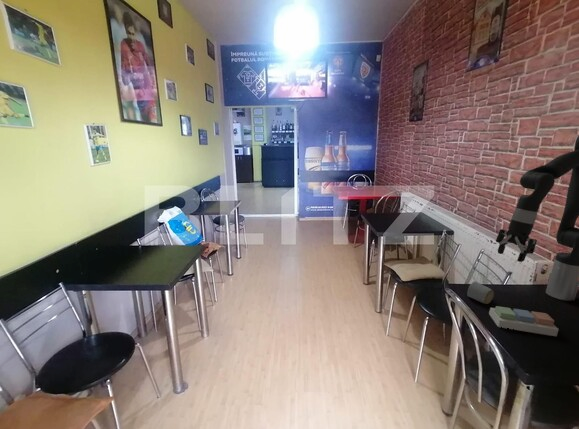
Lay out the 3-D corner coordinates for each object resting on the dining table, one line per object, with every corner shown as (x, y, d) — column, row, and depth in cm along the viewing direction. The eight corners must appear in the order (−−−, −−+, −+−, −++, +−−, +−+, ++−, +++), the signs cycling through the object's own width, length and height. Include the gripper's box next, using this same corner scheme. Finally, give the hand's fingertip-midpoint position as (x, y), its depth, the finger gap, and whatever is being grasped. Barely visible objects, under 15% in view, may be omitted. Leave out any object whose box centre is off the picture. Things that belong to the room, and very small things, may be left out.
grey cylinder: (485, 307, 124) (488, 291, 123) (465, 298, 131) (468, 283, 129) (496, 300, 130) (499, 285, 128) (476, 292, 137) (480, 278, 135)
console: (542, 322, 115) (544, 315, 114) (556, 336, 107) (558, 329, 106) (489, 313, 120) (490, 307, 119) (498, 327, 111) (499, 320, 110)
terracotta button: (544, 319, 113) (546, 313, 112) (552, 327, 108) (554, 320, 107) (529, 317, 114) (531, 311, 113) (536, 324, 109) (538, 318, 109)
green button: (508, 314, 116) (509, 308, 115) (514, 321, 111) (516, 315, 110) (494, 312, 117) (495, 306, 116) (499, 319, 112) (501, 312, 112)
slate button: (526, 316, 114) (528, 310, 114) (533, 324, 110) (534, 318, 109) (511, 314, 115) (513, 308, 115) (517, 322, 111) (519, 315, 110)
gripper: (548, 226, 112) (533, 265, 116) (512, 217, 125) (500, 251, 129) (534, 224, 110) (519, 264, 114) (499, 215, 123) (487, 250, 127)
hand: (509, 257), depth 121 cm, fingers open, 8 cm apart
